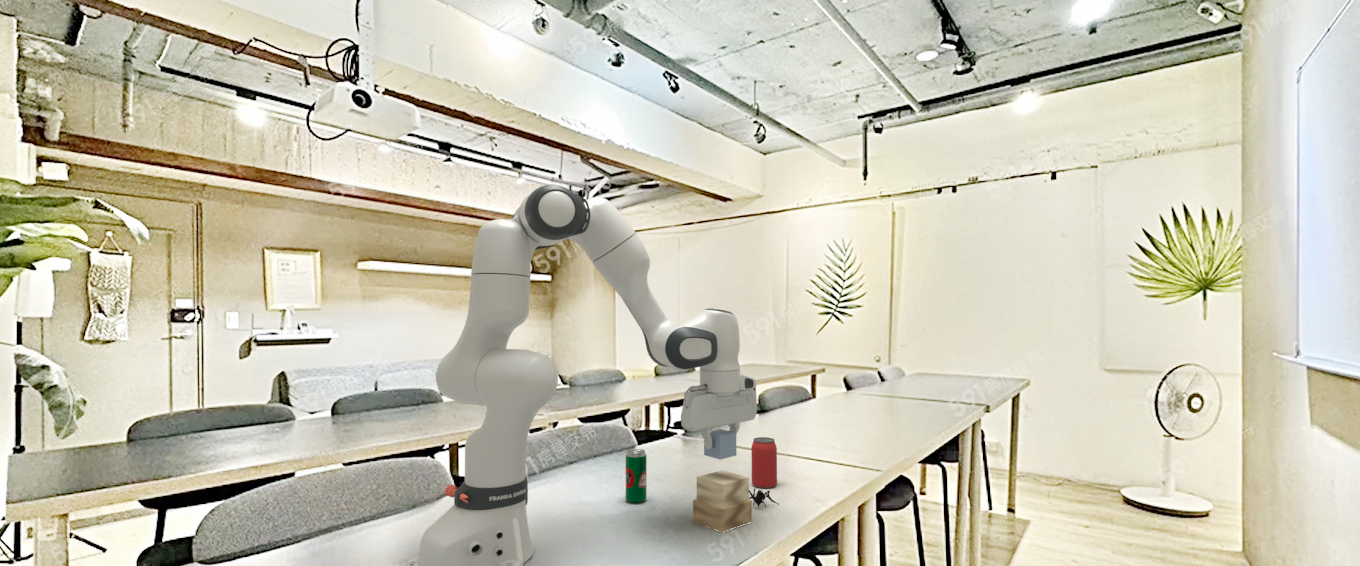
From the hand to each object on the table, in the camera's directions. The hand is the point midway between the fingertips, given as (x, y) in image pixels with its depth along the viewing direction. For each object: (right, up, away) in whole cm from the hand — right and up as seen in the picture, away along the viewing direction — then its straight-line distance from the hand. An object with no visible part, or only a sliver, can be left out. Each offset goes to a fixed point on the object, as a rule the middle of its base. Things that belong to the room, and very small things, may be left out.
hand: (720, 445), depth 135 cm
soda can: (-20, -17, +14) cm, 30 cm away
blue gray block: (0, -2, 0) cm, 2 cm away
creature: (+10, -17, +11) cm, 23 cm away
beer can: (+13, -18, +27) cm, 35 cm away
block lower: (0, -17, -1) cm, 17 cm away
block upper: (0, -12, -1) cm, 12 cm away
